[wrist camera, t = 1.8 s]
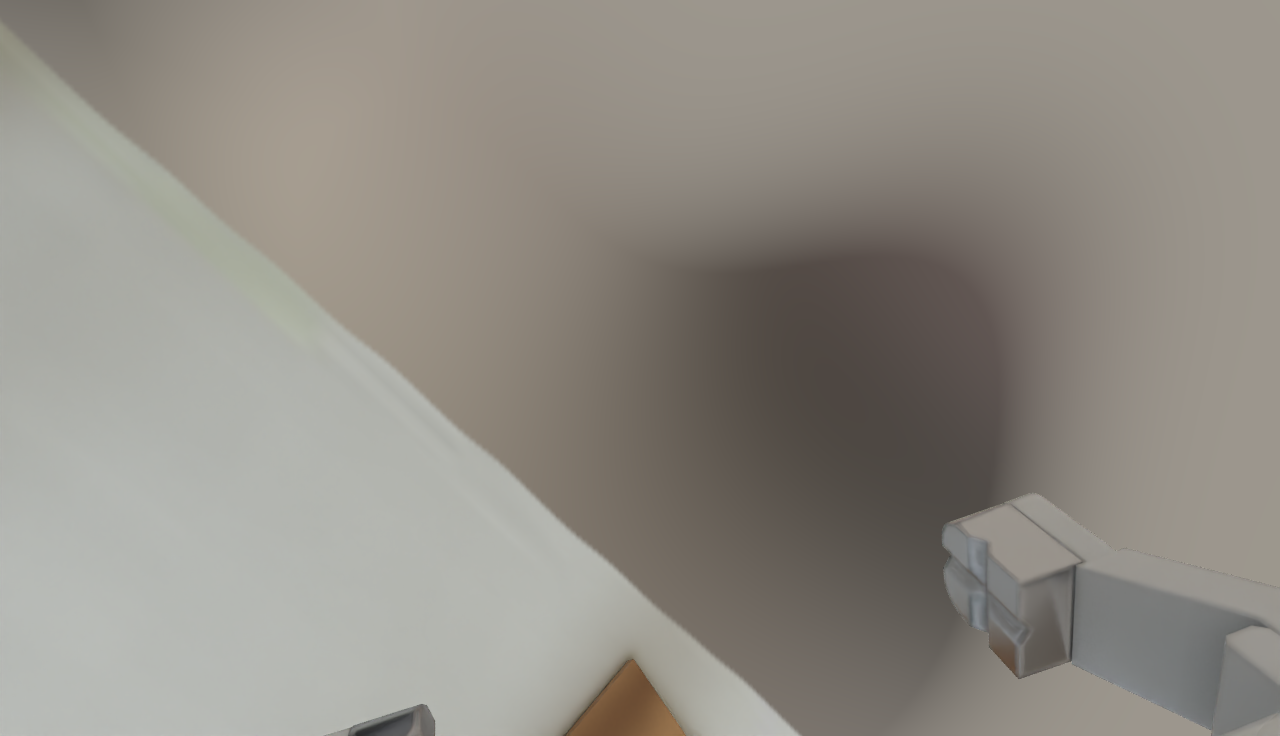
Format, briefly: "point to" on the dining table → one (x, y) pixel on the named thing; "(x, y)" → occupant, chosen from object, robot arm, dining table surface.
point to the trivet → (627, 709)
